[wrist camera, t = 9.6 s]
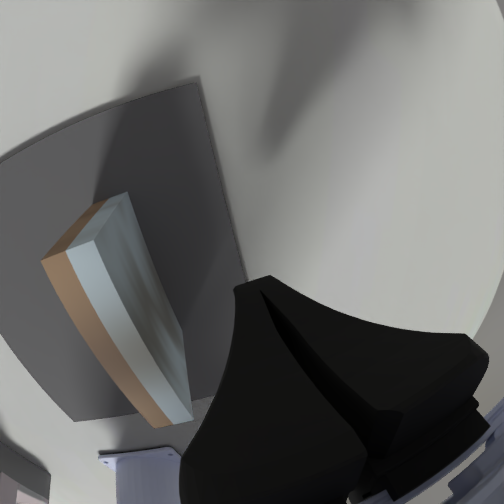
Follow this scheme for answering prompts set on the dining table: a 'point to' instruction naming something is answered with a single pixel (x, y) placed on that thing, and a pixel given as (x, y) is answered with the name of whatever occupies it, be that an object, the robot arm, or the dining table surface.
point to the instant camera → (22, 479)
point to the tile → (123, 309)
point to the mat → (153, 230)
